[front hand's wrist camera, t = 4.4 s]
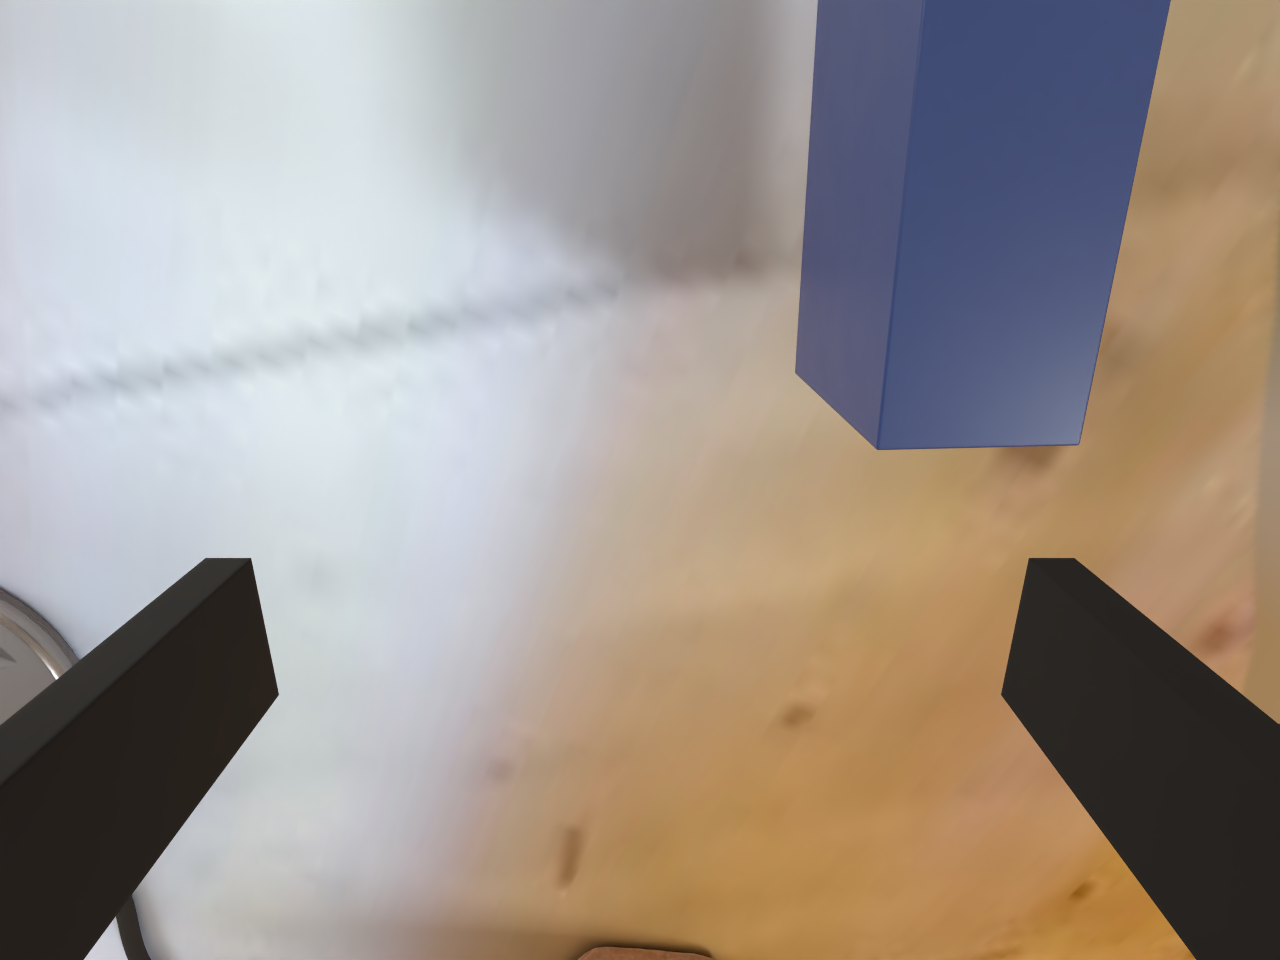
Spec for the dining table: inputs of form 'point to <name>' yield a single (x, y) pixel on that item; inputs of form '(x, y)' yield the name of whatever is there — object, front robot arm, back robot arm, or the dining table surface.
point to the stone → (638, 954)
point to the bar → (968, 211)
